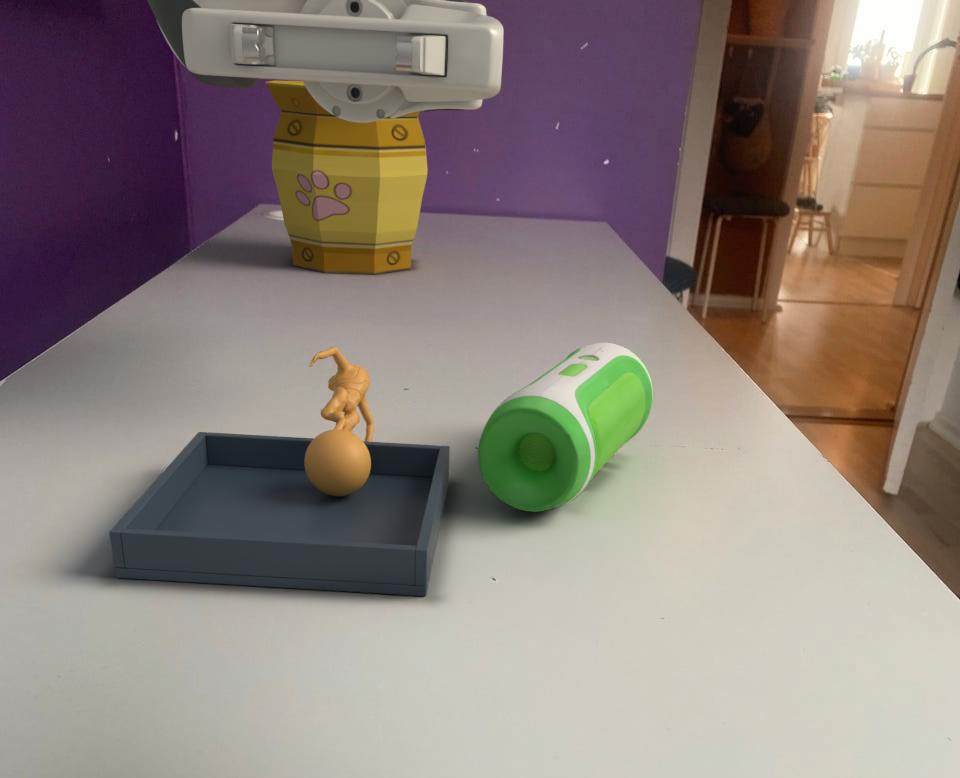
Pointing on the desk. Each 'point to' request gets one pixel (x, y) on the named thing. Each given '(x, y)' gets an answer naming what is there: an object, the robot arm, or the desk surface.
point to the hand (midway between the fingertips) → (326, 49)
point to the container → (347, 185)
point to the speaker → (564, 427)
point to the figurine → (341, 432)
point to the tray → (286, 519)
